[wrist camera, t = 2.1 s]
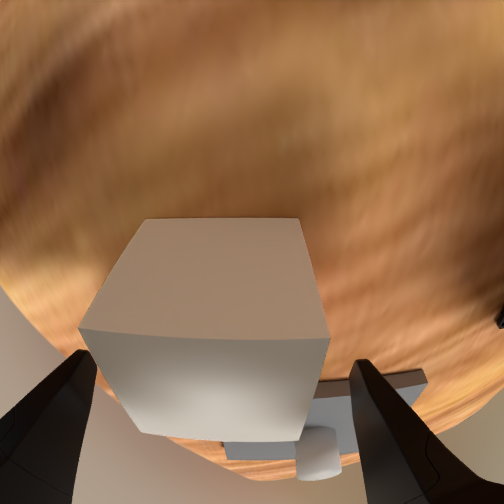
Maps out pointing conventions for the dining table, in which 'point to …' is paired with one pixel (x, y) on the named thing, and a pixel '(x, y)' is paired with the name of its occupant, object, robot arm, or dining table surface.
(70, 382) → the robot arm
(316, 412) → the grey slotted slab
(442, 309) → the dining table surface
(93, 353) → the cream rectangular block
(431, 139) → the dining table surface
